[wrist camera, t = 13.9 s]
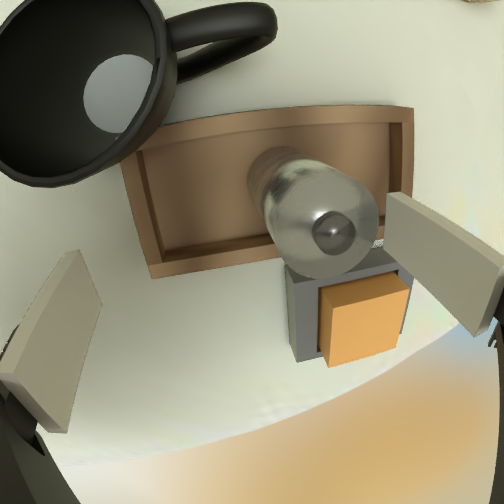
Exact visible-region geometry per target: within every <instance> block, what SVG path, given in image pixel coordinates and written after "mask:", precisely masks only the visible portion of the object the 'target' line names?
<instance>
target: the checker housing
mask: <svg viewBox="0 0 504 504" xmlns="http://www.w3.org/2000/svg"><path fill="white" fill-rule="evenodd" d="M390 271H393V272H394V273H395V274H396V275H397V276H398V277H399V278H400V279H401V280H402V281H403V282H404V283H405V284H406V285H407V286H408V288H409V294H408V299H407V303H406V308H405V312H404V317H403V321H402V325H401V329H400V333H399V334H401V332H402V328H403V324H404V320H405V316H406V312H407V308H408V303H409V299H410V294H411V289H412V284H413V279H414V277H413V276H412V275H411V274H410V273H409V272H408V271H407V270H406V269H405V268H404V267H403V266H401V265H400V264H399V263H398V262H397V261H396V260H395V259H394V258H393V257H392V256H390V255H389V254H388V253H387V252H386V251H385V250H384V249H383V247H378V248H373V249H370V250H369V252H368V253H367V255H366V256H365V257H364V258H363V259H362V260H361V261H360V262H359V263H358V264H357V265H356V266H355V267H353V268H352V269H350V270H349V271H347V272H345V273H343V274H341V275H338V276H335V277H331V278H325V279H315V278H309V277H305V276H303V275H300V274H298V273H296V272H295V271H294V270H292V269H291V268H290V267H289V266H288V265H285V273H286V288H287V304H288V322H289V341H290V345H291V348H292V351H293V354H294V356H295V359H296V362H297V363H298V362H302V361H306V360H310V359H315V358H319V357H323V354H322V352H321V350H320V348H319V345H318V343H317V328H318V287H323V286H327V285H332V284H337V283H341V282H346V281H351V280H355V279H360V278H364V277H368V276H373V275H377V274H381V273H386V272H390Z"/></svg>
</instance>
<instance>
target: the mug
mask: <svg viewBox="0 0 504 504" xmlns="http://www.w3.org/2000/svg"><path fill="white" fill-rule="evenodd" d="M277 30H278V26H277V17H276V15H275V12H274V10H273V9H272V8H271V7H270V6H269V5H268V4H265V3H259V2H236V3H227V4H221V5H215V6H210V7H206V8H202V9H198V10H194V11H190V12H187V13H183V14H180V15H177V16H174V17H171V18H169V19H166V20H165V18H164V16H163V13H162V11H161V10H160V8H159V7H158V5H157V4H156V2H155V1H154V0H25V1H23V2H22V3H21V4H20V5H19V6H18V7H17V8H16V9H15V10H14V11H13V12H12V13H11V14H10V15H9V16H8V17H7V19H6V20H5V21H4V22H3V24H2V25H1V26H0V171H1V172H2V173H4V174H5V175H7V176H8V177H9V178H11V179H12V180H14V181H17V182H20V183H23V184H25V185H28V186H31V187H42V188H56V187H61V186H66V185H70V184H75V183H77V182H79V181H81V180H84V179H86V178H88V177H90V176H92V175H94V174H96V173H98V172H101V171H103V170H105V169H107V168H109V167H111V166H113V165H115V164H117V163H119V162H121V161H122V160H124V159H125V158H126V157H128V156H129V155H131V154H132V153H133V152H135V151H136V150H138V149H139V148H140V147H141V146H142V145H143V144H144V143H145V142H146V140H147V139H148V138H149V137H150V136H151V135H152V134H153V133H154V132H155V131H156V130H157V128H158V127H159V125H160V124H161V122H162V121H163V119H164V117H165V116H166V114H167V112H168V109H169V107H170V104H171V102H172V100H173V97H174V92H175V87H176V84H178V83H182V82H185V81H188V80H191V79H193V78H196V77H198V76H201V75H203V74H206V73H208V72H210V71H212V70H215V69H217V68H219V67H222V66H224V65H226V64H228V63H231V62H233V61H235V60H238V59H240V58H242V57H245V56H247V55H249V54H251V53H254V52H256V51H258V50H260V49H262V48H263V47H265V46H267V45H268V44H270V43H271V42H272V41H273V40H274V39H275V38H276V34H277ZM211 42H213V43H212V44H210V45H208V46H206V47H204V48H202V49H201V50H199V51H197V52H195V53H193V54H191V55H188V56H186V57H184V58H181V59H178V60H177V53H176V52H178V51H181V50H184V49H188V48H191V47H195V46H199V45H203V44H207V43H211ZM122 54H132V55H136V56H140V57H142V58H144V59H146V60H148V61H149V62H150V63H151V64H152V65H153V71H152V76H151V81H150V84H149V87H148V89H147V92H146V94H145V97H144V99H143V102H142V104H141V107H140V108H139V110H138V111H137V113H136V114H135V116H134V118H133V119H132V121H131V122H130V124H129V126H128V127H127V129H126V130H125V131H124V132H123V133H110V132H106V131H103V130H101V129H100V128H98V127H96V126H95V125H94V124H93V123H92V122H91V121H90V119H89V118H88V116H87V114H86V111H85V108H84V102H83V95H84V88H85V85H86V83H87V80H88V78H89V77H90V75H91V73H92V72H93V71H94V70H95V69H96V68H97V66H98V65H100V64H101V63H103V62H104V61H105V60H107V59H109V58H111V57H114V56H118V55H122ZM116 137H118V139H117V140H115V138H116Z"/></svg>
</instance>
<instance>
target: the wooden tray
mask: <svg viewBox="0 0 504 504" xmlns="http://www.w3.org/2000/svg"><path fill="white" fill-rule="evenodd" d="M117 139H118V137H116V138H115V140H117ZM278 146H288V147H292V148H295V149H298V150H300V151H302V152H304V153H306V154H308V155H310V156H312V157H314V158H316V159H318V160H320V161H322V162H324V163H325V164H327V165H329V166H331V167H333V168H335V169H337V170H339V171H341V172H342V173H344V174H346V175H348V176H350V177H352V178H353V179H355V180H357V181H359V182H360V183H362V184H363V185H364V186H365V187H366V188H367V189H368V190H369V191H370V192H371V194H372V195H373V197H374V199H375V201H376V204H377V207H378V212H379V227H378V232H377V236H376V239H375V240H378V239H383V238H384V230H385V216H386V198H387V193H394V192H402V193H403V194H405V195H407V196H409V197H411V198H412V189H413V171H414V108H409V107H401V106H386V105H322V106H301V107H286V108H274V109H263V110H254V111H245V112H237V113H230V114H223V115H216V116H209V117H203V118H197V119H192V120H186V121H181V122H176V123H171V124H166V125H161V126H159V127H158V128H157V130H156V131H155V132H154V133H153V134H152V135H151V136H150V137H149V138H148V139H147V140H146V142H145V143H144V144H143V145H142V146H141V147H140V148H139V149H138V150H136V151H135V152H133V153H132V154H131V155H129V156H128V157H126V158H125V159H124V160H122V161H121V162H120V164H121V168H122V173H123V177H124V181H125V186H126V190H127V194H128V198H129V202H130V206H131V210H132V214H133V217H134V221H135V225H136V228H137V232H138V235H139V239H140V242H141V246H142V249H143V253H144V256H145V259H146V262H147V266H148V269H149V272H150V275H151V278H152V279H156V278H162V277H168V276H174V275H180V274H186V273H192V272H198V271H204V270H209V269H215V268H221V267H227V266H233V265H239V264H244V263H250V262H256V261H261V260H267V259H273V258H279V257H281V255H280V253H279V251H278V249H277V247H276V245H275V243H274V241H273V239H272V237H271V235H270V233H269V231H268V229H267V227H266V225H265V223H264V221H263V219H262V217H261V215H260V213H259V212H258V210H257V208H256V206H255V204H254V202H253V200H252V198H251V196H250V194H249V191H248V187H247V176H248V172H249V169H250V167H251V165H252V163H253V162H254V160H255V159H256V158H257V157H258V156H259V155H260V154H261V153H263V152H264V151H266V150H268V149H270V148H273V147H278Z"/></svg>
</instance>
